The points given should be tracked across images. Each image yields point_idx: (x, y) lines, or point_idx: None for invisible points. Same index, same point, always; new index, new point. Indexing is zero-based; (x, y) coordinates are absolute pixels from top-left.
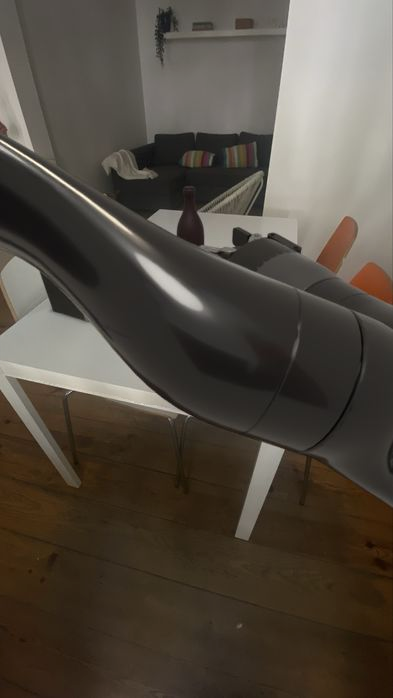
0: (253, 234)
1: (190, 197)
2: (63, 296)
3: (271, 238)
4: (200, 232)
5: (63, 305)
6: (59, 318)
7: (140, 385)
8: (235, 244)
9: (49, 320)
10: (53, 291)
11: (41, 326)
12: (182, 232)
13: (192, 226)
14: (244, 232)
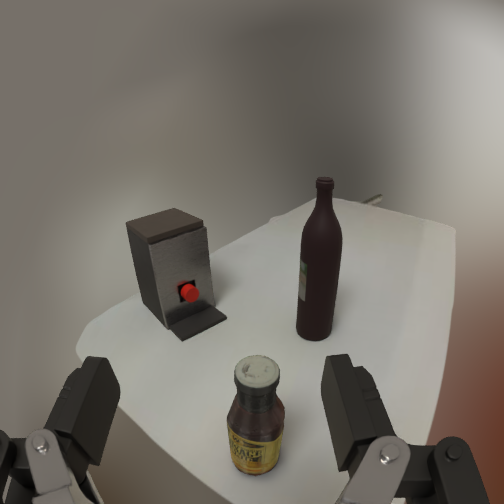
0: (378, 443)
1: (325, 192)
2: (148, 292)
3: (439, 484)
4: (335, 243)
5: (149, 301)
6: (143, 315)
7: (178, 459)
8: (324, 404)
9: (132, 314)
10: (141, 283)
11: (121, 320)
12: (307, 239)
13: (323, 233)
14: (351, 410)
